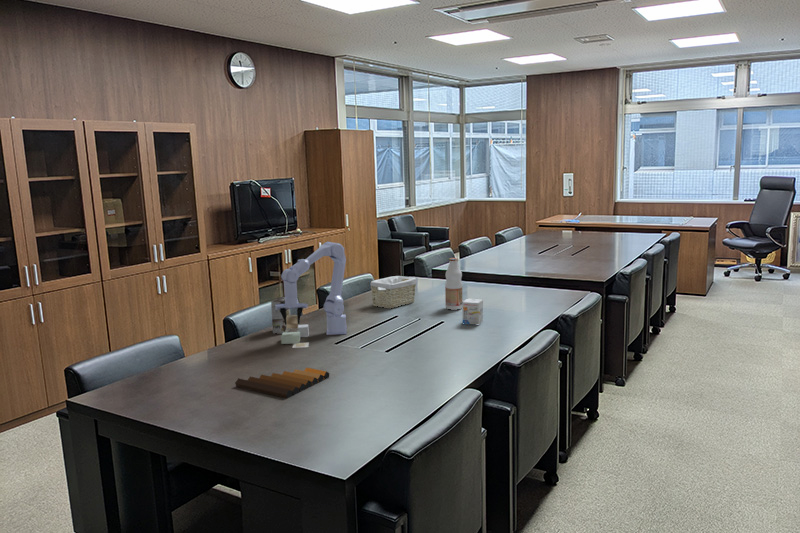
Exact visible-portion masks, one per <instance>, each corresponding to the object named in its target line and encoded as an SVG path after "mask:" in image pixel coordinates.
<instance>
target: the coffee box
mask: <svg viewBox="0 0 800 533" xmlns="http://www.w3.org/2000/svg"><path fill="white" fill-rule="evenodd" d="M270 304H271V322H272V334H275V333H277V334H278V335H279V334H281V335H282V333H285V332H289V331H291V330H290V329H287V325H285V321H284V318H283V316H282V314H281V312H280V309H278V310H275V305H279V304H285V297H277V298H275V299H273V300H271V303H270ZM286 315H291V309H286Z"/></svg>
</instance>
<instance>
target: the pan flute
mask: <svg viewBox="0 0 800 533" xmlns="http://www.w3.org/2000/svg"><path fill="white" fill-rule="evenodd" d="M329 378H330V373H329V371H327V370H321V369H315V368H310V367H305V369H304V370H302V369H301V370H300V369H296V368H295V369H294V371H293V372H290V371H286V370H284V371H283V372H282V374H281V373H276V372H272V374H271V375H266V374H261V375H260V376H259V377H254V376H249V378H248V379H243V378H237V380H236V381H235V383H234V384H235V386H236V387H237V388H241V389H244V390H248V391H249V390H250V391H254V392H257V391H258V393H263V394H265V395H266V394H267V395H271V396H276V397H278V398H283V399H290V397H293V396H295V395H297V394H299V392H300V393H301V392H303V391H305V390H306V389H309V388H311V387H312V386H315V385H316V384H318V383H321V382H323V381H324V380H327V379H329Z"/></svg>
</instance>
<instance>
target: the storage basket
mask: <svg viewBox="0 0 800 533" xmlns="http://www.w3.org/2000/svg"><path fill="white" fill-rule="evenodd" d="M416 287H417V278H416V277H411V276H404V275H403V276H402V275H395V276H388V277H384V278H379V279H375V280H371V281H370V292H371V298H372V299H371V300H372V306H373V307H377V306H378V307H377V308H382V307H384V308H383V309H389V310H390V309H391V308H392V309H395V308H399V307H402V306H406V305H408V304H412V303H414V302H415V296H416ZM405 304H406V305H405ZM401 305H402V306H401ZM398 306H399V307H398ZM394 307H395V308H394Z"/></svg>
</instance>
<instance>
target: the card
mask: <svg viewBox="0 0 800 533" xmlns="http://www.w3.org/2000/svg"><path fill="white" fill-rule="evenodd" d="M309 345H310V342H299V343H292V349H303V348H304V349H305V348H309V347H310V346H309Z"/></svg>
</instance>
